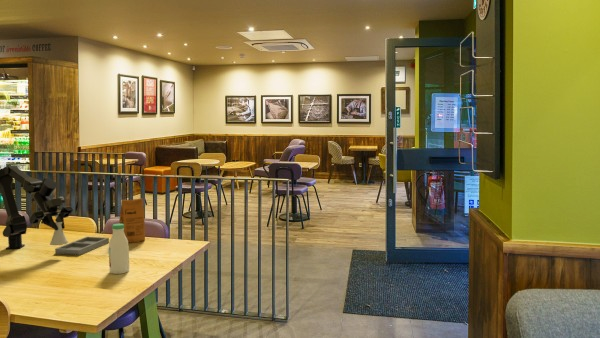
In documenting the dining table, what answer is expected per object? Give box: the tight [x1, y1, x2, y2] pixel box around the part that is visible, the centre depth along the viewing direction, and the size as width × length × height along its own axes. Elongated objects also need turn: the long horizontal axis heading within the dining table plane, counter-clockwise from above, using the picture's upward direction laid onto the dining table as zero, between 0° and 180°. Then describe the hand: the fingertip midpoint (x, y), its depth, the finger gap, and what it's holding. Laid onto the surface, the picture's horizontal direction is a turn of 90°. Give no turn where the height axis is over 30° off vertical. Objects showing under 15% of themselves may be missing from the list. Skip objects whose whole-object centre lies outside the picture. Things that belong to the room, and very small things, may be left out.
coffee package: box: [118, 197, 146, 244], centre depth 249 cm, size 10×12×22 cm
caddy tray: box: [54, 236, 110, 256], centre depth 235 cm, size 12×24×2 cm, turn 169°
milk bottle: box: [108, 223, 130, 275], centre depth 199 cm, size 8×8×20 cm
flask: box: [49, 221, 69, 246], centre depth 219 cm, size 7×7×10 cm
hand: (60, 229), depth 218 cm, fingers closed on flask, 3 cm apart
